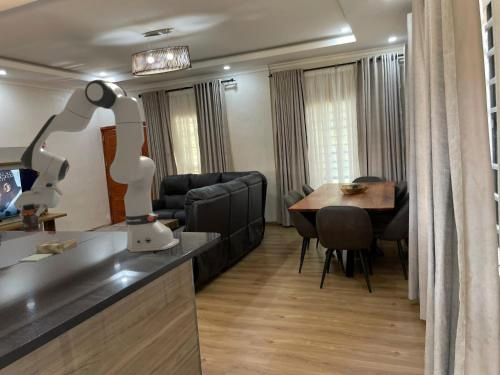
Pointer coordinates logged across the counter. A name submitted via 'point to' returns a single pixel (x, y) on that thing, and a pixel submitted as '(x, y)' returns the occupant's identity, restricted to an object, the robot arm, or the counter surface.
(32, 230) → the supplement bottle
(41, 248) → the tan u-shaped bracket
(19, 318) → the counter surface
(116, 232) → the counter surface
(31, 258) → the sage pad
